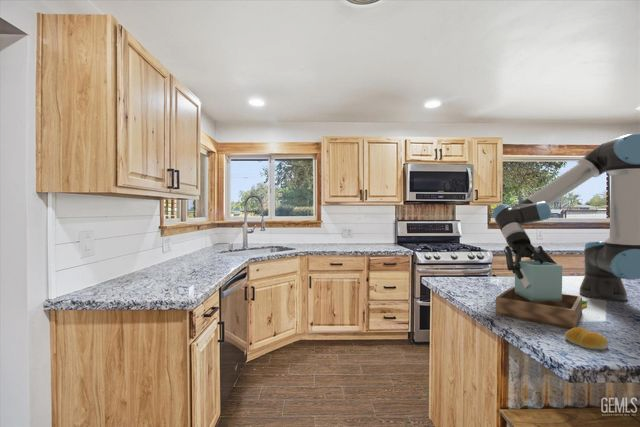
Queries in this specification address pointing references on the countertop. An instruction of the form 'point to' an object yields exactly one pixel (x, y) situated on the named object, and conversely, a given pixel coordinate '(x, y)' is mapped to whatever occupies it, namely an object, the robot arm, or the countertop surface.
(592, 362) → the countertop surface
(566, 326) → the big walnut crate
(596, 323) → the countertop surface
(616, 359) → the countertop surface
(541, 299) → the small teal crate
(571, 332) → the bread roll
